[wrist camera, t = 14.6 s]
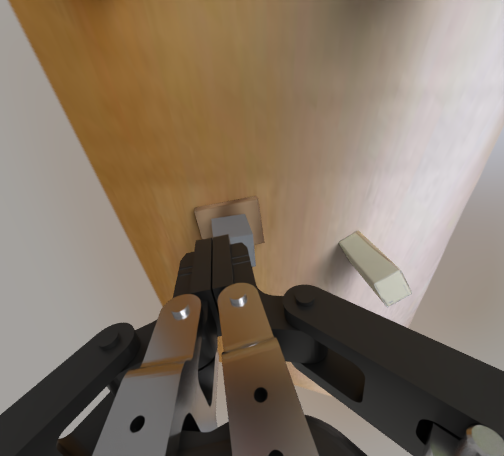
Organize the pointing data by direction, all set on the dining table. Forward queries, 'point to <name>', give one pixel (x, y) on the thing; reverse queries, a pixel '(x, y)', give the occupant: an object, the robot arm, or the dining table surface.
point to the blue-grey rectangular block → (235, 231)
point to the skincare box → (376, 269)
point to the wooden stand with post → (230, 209)
